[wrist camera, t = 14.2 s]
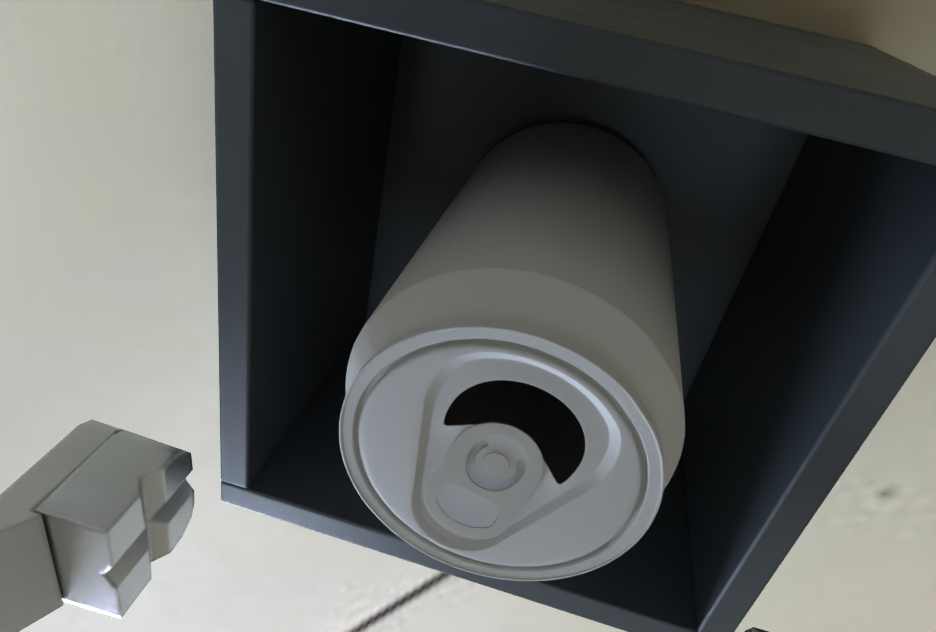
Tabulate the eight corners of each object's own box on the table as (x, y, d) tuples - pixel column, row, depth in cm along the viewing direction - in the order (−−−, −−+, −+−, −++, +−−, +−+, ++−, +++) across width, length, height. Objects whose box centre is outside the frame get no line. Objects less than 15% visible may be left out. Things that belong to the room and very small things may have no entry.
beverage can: (709, 179, 20) (781, 436, 10) (598, 335, 23) (565, 646, 13) (520, 77, 20) (391, 229, 9) (437, 249, 23) (275, 499, 13)
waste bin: (396, -64, 19) (210, -65, 11) (872, 45, 18) (1073, 141, 10) (352, 323, 26) (219, 501, 18) (690, 421, 25) (716, 661, 17)
